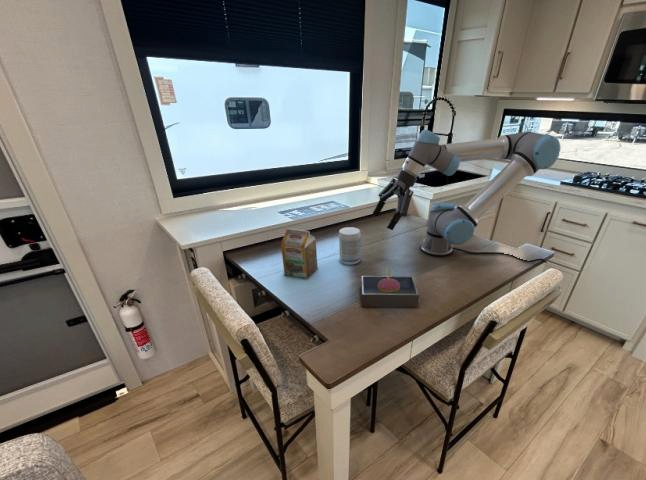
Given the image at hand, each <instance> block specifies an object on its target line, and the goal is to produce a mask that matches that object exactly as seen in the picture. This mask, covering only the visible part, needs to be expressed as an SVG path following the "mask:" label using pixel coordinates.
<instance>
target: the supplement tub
mask: <svg viewBox="0 0 646 480" xmlns="http://www.w3.org/2000/svg"><path fill="white" fill-rule="evenodd" d="M338 246H339V247H338V249H339V250H338V251H339V261H340V263H341V264H343V265H348V266H351V265H352V266H353V265H356V264H359V263H360V261H361V230H360V229H359V228H357V227H351V226H349V227H348V226H347V227H343V228H340V229H339V231H338Z"/></svg>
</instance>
